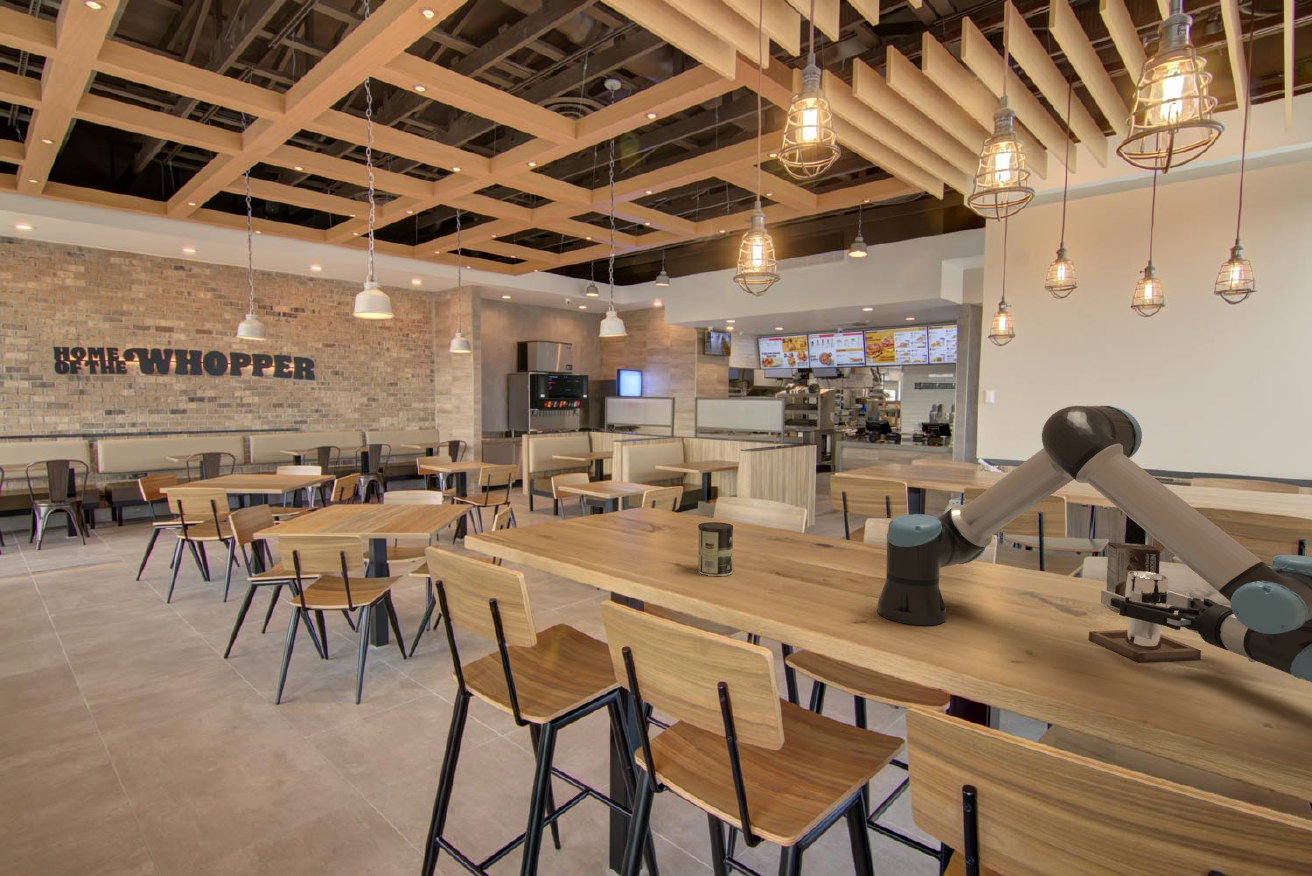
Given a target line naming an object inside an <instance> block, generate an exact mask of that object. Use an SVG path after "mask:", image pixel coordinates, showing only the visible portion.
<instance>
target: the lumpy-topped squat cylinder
mask: <svg viewBox="0 0 1312 876" xmlns="http://www.w3.org/2000/svg"><path fill="white" fill-rule="evenodd" d="M1184 595H1185V596H1188V597H1191V599H1193V598H1198V599H1200V600H1201V601H1204V599H1209V600H1212V601H1214V602H1215V603H1217V604H1219V605H1223V606H1226V607H1230V608H1231V602H1230V601H1229V600H1228V599H1226V598H1225V597H1224V596H1223V595H1222V594H1221V593H1219V592H1218V591H1217V590H1216V589H1215V588H1213V589H1210V590H1209V589H1205V588H1202V587H1200V588H1196V589H1195V590H1189V591H1186V592H1185V594H1184ZM1190 608H1191V607H1190ZM1191 631H1192V632H1194V633H1196V634H1198V635H1200V634H1199V633H1198V631H1194V630H1191Z"/></svg>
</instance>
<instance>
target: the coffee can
mask: <svg viewBox="0 0 1312 876" xmlns="http://www.w3.org/2000/svg"><path fill="white" fill-rule="evenodd" d="M733 537H734V525H733V524H731V523H728V522H721V521H720V522H719V521H718V522H716V521H715V522H714V521H712V522H702V523H698V561H697V562H698V563H697V564H698V566H697V567H698V568H697V569H698V570H697V573H698V574H700V573H701V574H700V575H702V574H703V575H702V576H705V575H708V576H707V577H713V576H722V577H728V576H731V575H732V574H733V551H734V550H733V548H734V547H733V542H734V541H733V540H734V538H733ZM730 574H731V575H730ZM727 575H728V576H727Z"/></svg>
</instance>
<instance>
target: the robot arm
mask: <svg viewBox="0 0 1312 876" xmlns="http://www.w3.org/2000/svg"><path fill="white" fill-rule="evenodd" d="M1142 438H1143V432H1142V428H1141V425H1140V422H1138V419H1136V418H1135V416H1134V415H1132V414H1131V413H1130V412H1128V411H1126V410H1125V409H1122V408H1119V407H1115V406H1112V405H1072V406H1067V407H1063V408H1061V409H1059V410H1057V411H1055V412H1054V413H1052V415H1050V416H1049V417H1048V419H1047V420H1046V421H1045V423H1044V425H1043V428H1042V431H1041V443H1042V447H1043V448H1042V449H1040V450H1039V451H1037V452H1036V453H1035V454H1034V455H1032V456H1031V457H1029V458H1028V459H1026V460H1025V461H1024V462H1022V463H1021V464H1020V465H1019V466H1017V467H1016V468H1015V469H1013V470H1012V471H1010V472H1009V473H1008V474H1006V475H1005V476H1004V477H1002V478H1001V479H1000V480H998V481H997V482H996V483H994V484H992V486H990V487H989V488H988V489H986V490H984V492H982V493H981V494H979V495H978V496H976V498H974V499H973V500H971V501H970V502H968V503H967V504H966V505H964V504H955V505H954V506H952V507H951V508H950V509H949V510H947V511H945V512H944V513H943V514H942V515H940V516H939V517H937V516H933V515H930V514H922V513H913V514H903V515H897V516H895V517H893V518H892V519H891V520H890V521H889V522H888V527H887V534H886V540H887V541H886V542H887V543H886V575H885V576H886V577H885V578H886V579H885V582H884V586H883V588H882V591H881V593H880V595H879V598H878V600H877V613H878V614H879V615H880V616H882V617H883V618H885V619H887V620H891V621H893V622H896V623H902V624H906V625H913V626H914V625H915V626H935V625H936V626H937V625H941V624H943V623H945V622H946V620H947V609H946V605H945V602H944V599H943V596H942V592H941V588H940V568H945V567H950V566H954V565H964V564H968V563H972V562H973V561H975V560H976V559H978V558H979V557H981V556H982V554H983V553H984V552H985V551H986V548H987V547H988V546H990V545H991V544H992V541H993V535H994V534H995V533H997V532H999V530H1001V529H1003V528H1004V527H1005V526H1007V525H1008V524H1010V523H1012V522H1013V521H1014V520H1016V519H1018V518H1019V517H1020V516H1022V515H1023V514H1025V513H1027V512H1028V511H1029V510H1031V509H1032V508H1033V507H1035V506H1037V505H1038V504H1040V503H1042V502H1043V501H1044V500H1045V499H1047V498H1048V497H1050V496H1051V495H1053V494H1055V493H1056V492H1057V491H1059V490H1060V489H1062V488H1063V487H1065V486H1066V485H1068V484H1070V483H1071V482H1072V481H1073V480H1075V482H1077V483H1078V484H1079V483H1080V484H1089V485H1090V486H1091V487H1092V488H1093V489H1095V490H1096V491H1097V492H1098V493H1100V495H1102V497H1105V498H1106V499H1107V500H1108V501H1109V502H1110V503H1111V504H1113V505H1114V506H1115V507H1116V508H1117V509H1119V510H1120V512H1123V514H1125V515H1126V516H1127V517H1129V519H1131V520H1132V521H1133V522H1134V523H1136V525H1138V526H1139V527H1140V528H1142V529H1143V530H1144V531H1145V532H1146V533H1148V534H1149V536H1151V537H1152V538H1154V539H1155V540H1156V541H1157V542H1158V543H1160V545H1162V546H1163V547H1164V548H1165V549H1167V550H1168V552H1170V553H1171V554H1173V555H1174V556H1175V557H1176V558H1178V559H1179V560H1180V561H1181V562H1182V563H1183V564H1185V565H1186V566H1187V567H1188V568H1189V569H1191V570H1192V571H1193V572H1194V573H1195V574H1197V575H1198V576H1199V577H1200V578H1201V579H1202V580H1204V581H1205V582H1206V583H1207V584H1208V585H1210V587H1212V588H1213V589H1216V590H1217V591H1218V592H1219V593H1221V594H1222V595H1223V596H1224V597H1225V598H1226V599H1228V600H1229V601H1230V602H1231V608H1230V607H1226V606H1223V605H1219V604H1217V603H1215V602H1214V601H1212V600H1209V599H1204V601H1201V600H1200V599H1198V598H1193V599H1191V597H1188V596H1185V594H1181V593H1178V592H1174V591H1171V590H1170V589H1168V604H1167V605H1169V607H1168V606H1167V607H1161V606H1155V605H1150V604H1144V603H1138V602H1132V599H1129V597H1123V596H1120V595H1117V594H1114V593H1112V592H1109V591H1106V589H1101V591H1100V604H1103V605H1105V606H1107V605H1108V606H1111V607H1113V608H1116V609H1118V610H1120V611H1119V612H1118V613H1119V616H1122V617H1127V618H1128V617H1130V618H1134V619H1138V620H1142V621H1147V622H1151V623H1155V624H1159V625H1162V626H1163V627H1167V628H1169V629H1173V630H1174V631H1181V628H1185V629H1186V630H1188V631H1189V630H1190V631H1192V630H1194V631H1198V633H1199V634H1198V633H1197V634H1198V635H1200V637H1201V639H1202V640H1203V641H1204V642H1205V643H1207V644H1208V645H1212V646H1213V647H1217V648H1220V649H1223V650H1225V651H1228V652H1231V653H1233V654H1236V655H1239V656H1241V657H1245V658H1247V660H1248V661H1249V662H1250V663H1255V662H1257V663H1260V664H1262V665H1265V666H1267V667H1270V668H1273V669H1276V670H1278V671H1280V672H1283V673H1285V674H1288V675H1290V676H1293V677H1294V678H1297V679H1299V680H1304V681H1306V682H1310V683H1312V556H1306V555H1298V554H1297V555H1296V554H1278V555H1275V556H1273V558H1272V562H1271V567H1270V566H1269V565H1267V564H1266V563H1265V562H1264V561H1263V560H1262V559H1260V558H1259V557H1258V556H1256V555H1255V554H1254V553H1253V552H1251V551H1250V550H1248V549H1247V548H1246V547H1245V546H1243V544H1241V543H1240V542H1239V541H1237V540H1235V539H1234V538H1233V537H1232V536H1231V535H1229V534H1228V533H1226V532H1225V531H1224V530H1222V528H1220V527H1219V526H1218V525H1217V524H1215V523H1213V522H1212V521H1211V520H1209V519H1208V518H1207V517H1206V516H1205V515H1204V514H1202V513H1200V512H1199V511H1198V510H1197V509H1195V508H1194V507H1193V506H1191V505H1190V504H1189V503H1187V502H1186V501H1185V500H1184V499H1183V498H1181V497H1180V496H1179V495H1178V494H1176V493H1175V492H1173V491H1172V489H1169V488H1168V487H1167V486H1166V485H1164V484H1163V483H1161V482H1160V481H1159V480H1158V479H1156V478H1155V477H1154V476H1153V475H1152V474H1150V473H1149V472H1147V471H1146V470H1145V469H1144V468H1142V467H1141V466H1140V465H1138V464H1137V463H1136V462H1135V461H1133V460H1132V459H1130V458H1132V457H1134V456H1135V454H1136V453H1137V452H1138V450H1139V449H1140V447H1141V444H1142V442H1143V441H1142ZM1108 606H1107V607H1108ZM1190 607H1191V608H1190ZM1175 611H1177V613H1175ZM1194 631H1193V632H1194Z"/></svg>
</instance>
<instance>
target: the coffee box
mask: <svg viewBox="0 0 1312 876" xmlns="http://www.w3.org/2000/svg"><path fill="white" fill-rule="evenodd" d="M1107 546H1108V547H1107V564H1106V565H1107V566H1106V567H1107V568H1106V571H1107V572H1106V589H1105V590H1106V591H1109V592H1112V593H1114V594H1117V595H1120V596H1123V597H1125V590H1126V582H1127V577H1128V572H1129V571H1145V572H1152V573H1157V574H1160V558H1161V556H1160V555H1161V550H1160V549H1158V548H1157V547H1155V546H1153V545H1151V544H1142V543H1141V544H1140V543H1127V542H1126V543H1124V542H1109V541H1108V543H1107ZM1106 606H1107V607H1108V608H1109V609H1111V610H1112V611H1113V612H1115V613H1116V612H1117V613H1119V611H1120V610H1118V609H1116V608H1113V607H1111V606H1108V605H1106Z"/></svg>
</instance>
